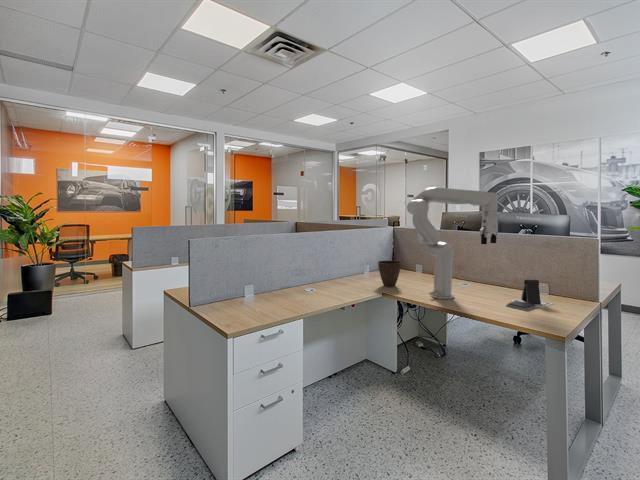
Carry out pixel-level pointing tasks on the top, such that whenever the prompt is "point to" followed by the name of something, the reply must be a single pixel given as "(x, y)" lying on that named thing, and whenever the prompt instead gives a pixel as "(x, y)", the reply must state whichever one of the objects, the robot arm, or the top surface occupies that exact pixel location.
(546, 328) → the top surface
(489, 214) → the robot arm
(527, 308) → the ink pad
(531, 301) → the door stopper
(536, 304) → the print sheet
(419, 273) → the top surface
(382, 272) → the plant pot
